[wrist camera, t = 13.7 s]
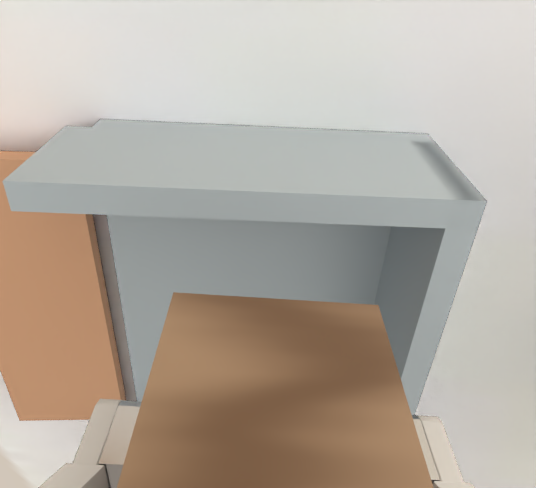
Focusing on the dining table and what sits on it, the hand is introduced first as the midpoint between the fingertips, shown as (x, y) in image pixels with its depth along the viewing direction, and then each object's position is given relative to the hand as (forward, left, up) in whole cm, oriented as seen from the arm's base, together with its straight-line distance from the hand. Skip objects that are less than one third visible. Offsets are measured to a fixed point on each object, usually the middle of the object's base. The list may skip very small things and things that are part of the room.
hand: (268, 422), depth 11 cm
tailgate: (+9, +9, -14) cm, 18 cm away
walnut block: (0, 0, -2) cm, 2 cm away
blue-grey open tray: (0, +9, -15) cm, 17 cm away
